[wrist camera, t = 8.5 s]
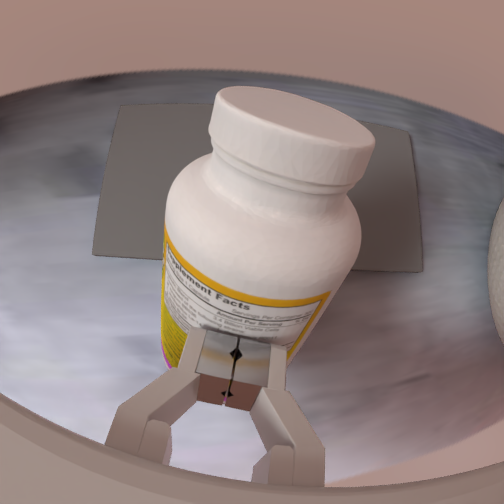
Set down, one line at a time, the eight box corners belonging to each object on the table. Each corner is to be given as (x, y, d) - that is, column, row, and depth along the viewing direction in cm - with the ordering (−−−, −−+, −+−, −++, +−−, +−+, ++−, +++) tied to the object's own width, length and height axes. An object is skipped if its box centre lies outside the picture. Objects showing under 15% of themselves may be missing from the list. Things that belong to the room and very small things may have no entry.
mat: (95, 255, 19) (92, 254, 18) (122, 109, 20) (120, 105, 20) (417, 272, 20) (422, 271, 20) (404, 135, 22) (408, 131, 21)
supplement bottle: (221, 287, 20) (278, 79, 12) (303, 356, 17) (426, 151, 9) (134, 342, 15) (133, 81, 7) (223, 434, 13) (359, 195, 5)
